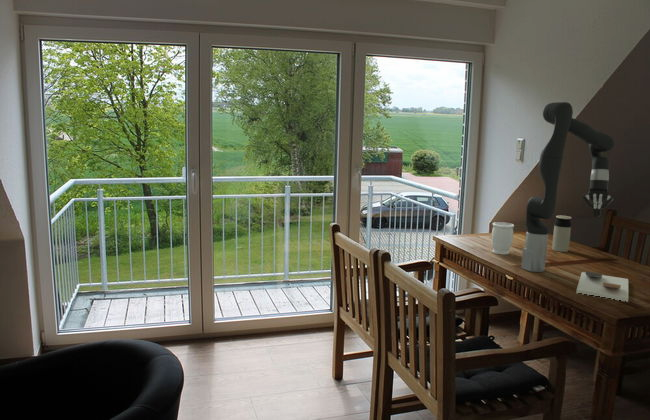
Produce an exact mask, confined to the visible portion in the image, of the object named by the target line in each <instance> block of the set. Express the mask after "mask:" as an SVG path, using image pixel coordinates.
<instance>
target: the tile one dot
mask: <svg viewBox="0 0 650 420" xmlns="http://www.w3.org/2000/svg"><path fill="white" fill-rule="evenodd" d="M585 273H586V275H590V276H593V277H602V275H603V274H602V273H598V272H591V271H585Z"/></svg>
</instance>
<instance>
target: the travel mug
mask: <svg viewBox="0 0 650 420" xmlns="http://www.w3.org/2000/svg"><path fill="white" fill-rule="evenodd" d="M555 218H556V219H555V221H554V226H553V227H554V228H553V235H552V243H551V246H552V247H551V249H552V250H553V251H555V252H557V253H558V252H559V253H567V252H569V250H570V241H571V232H572V231H571V230H572V222H571V220H572V216H569V215H568V216H567V215H556V216H555Z"/></svg>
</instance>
